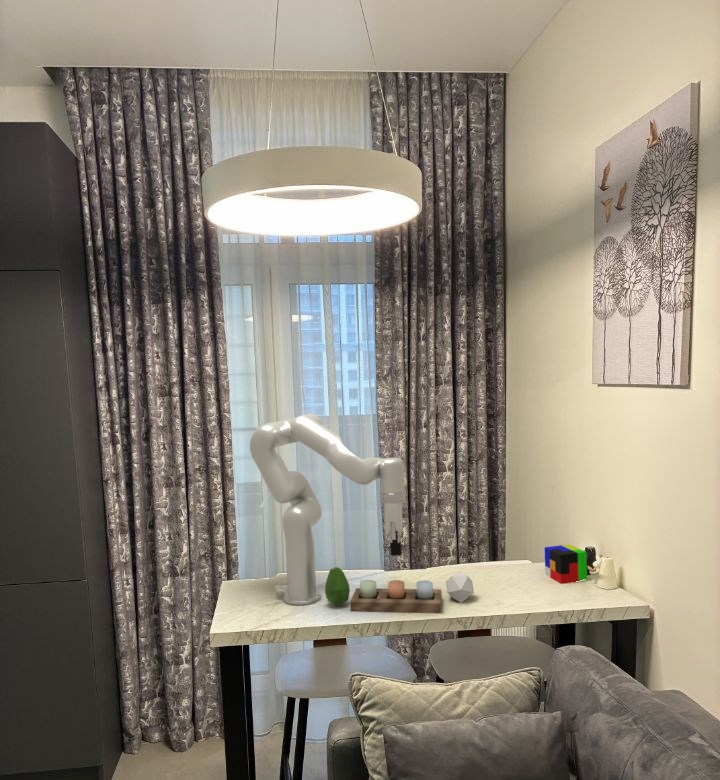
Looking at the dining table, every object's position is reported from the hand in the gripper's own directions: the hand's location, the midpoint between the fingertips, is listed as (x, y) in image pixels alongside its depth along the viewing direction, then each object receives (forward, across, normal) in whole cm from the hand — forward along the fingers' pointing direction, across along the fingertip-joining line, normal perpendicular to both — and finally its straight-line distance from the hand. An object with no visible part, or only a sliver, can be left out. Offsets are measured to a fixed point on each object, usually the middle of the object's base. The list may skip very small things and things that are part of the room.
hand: (396, 554), depth 188 cm
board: (+16, 0, -1) cm, 16 cm away
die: (+17, -6, +19) cm, 26 cm away
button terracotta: (+13, 0, -1) cm, 13 cm away
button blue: (+13, 0, +8) cm, 16 cm away
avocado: (+16, +1, -20) cm, 25 cm away
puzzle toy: (+17, -28, +56) cm, 65 cm away
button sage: (+13, 0, -10) cm, 16 cm away
